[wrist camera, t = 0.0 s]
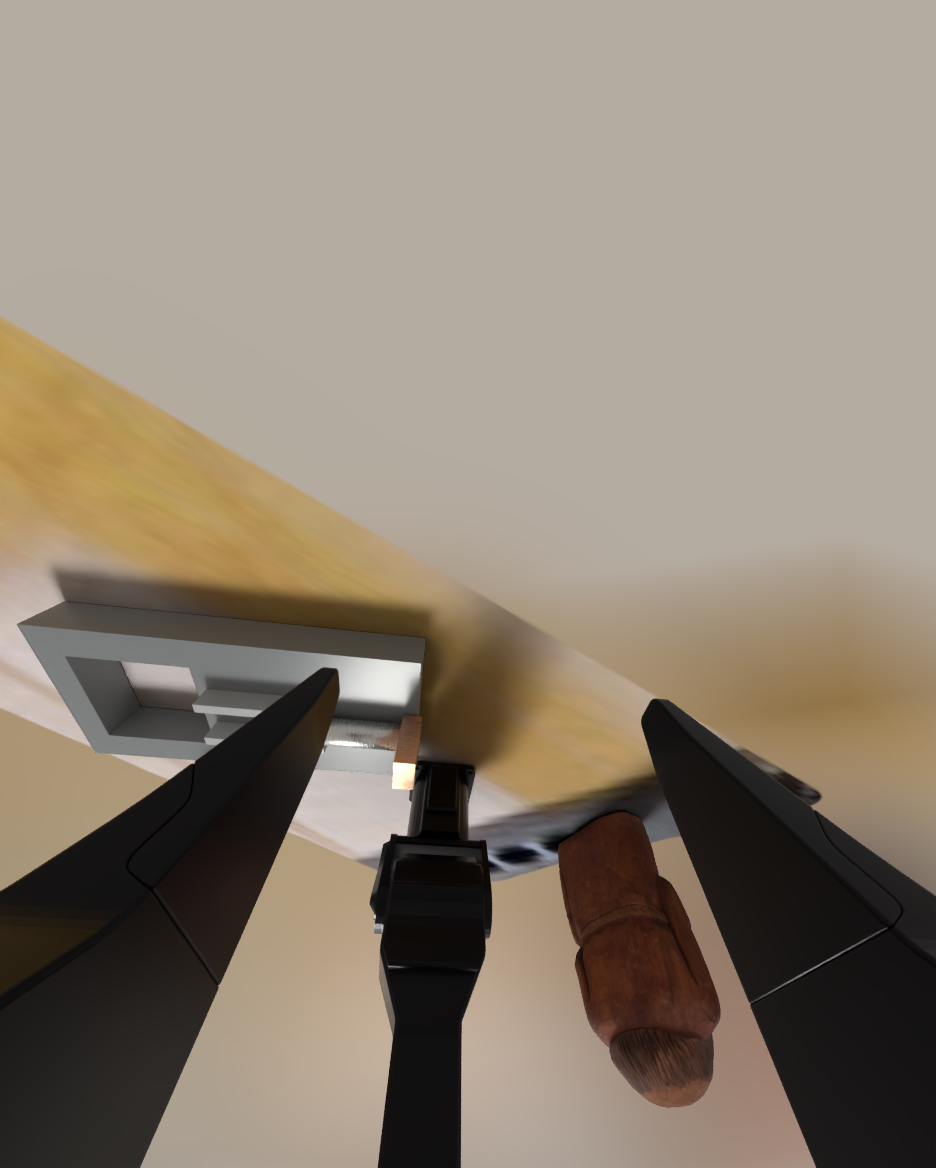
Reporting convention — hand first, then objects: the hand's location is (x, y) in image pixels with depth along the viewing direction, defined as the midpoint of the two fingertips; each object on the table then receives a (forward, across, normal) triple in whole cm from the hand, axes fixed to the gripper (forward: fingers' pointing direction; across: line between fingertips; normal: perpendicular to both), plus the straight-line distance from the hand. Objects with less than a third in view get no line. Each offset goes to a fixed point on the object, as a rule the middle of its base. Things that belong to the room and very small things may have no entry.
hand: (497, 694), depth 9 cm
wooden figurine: (+15, -20, +36) cm, 44 cm away
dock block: (+15, +17, +16) cm, 28 cm away
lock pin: (+12, +9, +16) cm, 22 cm away
